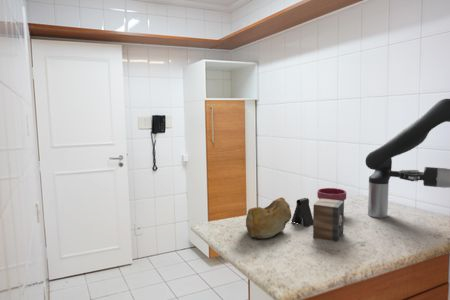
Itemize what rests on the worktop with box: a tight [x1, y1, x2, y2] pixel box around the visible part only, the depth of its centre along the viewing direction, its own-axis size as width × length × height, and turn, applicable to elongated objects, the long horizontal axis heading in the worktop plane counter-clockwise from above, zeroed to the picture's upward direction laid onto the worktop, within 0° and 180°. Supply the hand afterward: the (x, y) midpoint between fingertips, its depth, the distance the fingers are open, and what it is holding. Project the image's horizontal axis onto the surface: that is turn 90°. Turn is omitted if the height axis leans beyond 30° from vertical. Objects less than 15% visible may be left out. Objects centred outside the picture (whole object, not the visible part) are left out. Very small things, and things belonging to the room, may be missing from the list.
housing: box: [312, 198, 345, 243], centre depth 143 cm, size 12×10×14 cm
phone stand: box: [291, 197, 313, 227], centre depth 160 cm, size 9×6×12 cm, turn 39°
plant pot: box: [316, 187, 347, 202], centre depth 173 cm, size 14×14×13 cm
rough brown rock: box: [245, 197, 293, 240], centre depth 149 cm, size 23×17×15 cm
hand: (388, 173), depth 137 cm, fingers closed
